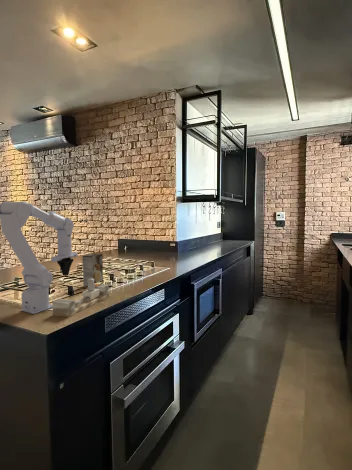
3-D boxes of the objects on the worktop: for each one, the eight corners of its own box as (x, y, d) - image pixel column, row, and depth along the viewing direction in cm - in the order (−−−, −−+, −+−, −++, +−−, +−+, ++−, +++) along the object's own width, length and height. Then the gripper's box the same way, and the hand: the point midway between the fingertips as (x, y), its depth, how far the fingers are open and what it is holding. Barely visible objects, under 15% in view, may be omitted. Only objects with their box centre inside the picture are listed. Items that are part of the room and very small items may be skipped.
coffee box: (93, 282, 161) (92, 253, 159) (103, 283, 159) (102, 253, 157) (82, 286, 152) (82, 255, 150) (93, 287, 150) (92, 256, 148)
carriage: (91, 299, 124) (91, 281, 124) (82, 298, 126) (82, 280, 125) (99, 295, 130) (99, 278, 129) (91, 294, 132) (90, 277, 131)
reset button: (97, 291, 133) (97, 285, 133) (93, 291, 134) (93, 285, 134) (100, 290, 135) (100, 284, 135) (96, 290, 136) (96, 283, 136)
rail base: (68, 317, 109) (67, 303, 108) (52, 315, 111) (52, 301, 110) (108, 296, 135) (108, 285, 135) (95, 294, 137) (95, 283, 137)
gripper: (60, 247, 122) (61, 279, 123) (82, 243, 136) (83, 272, 137) (46, 246, 124) (48, 278, 126) (69, 242, 138) (70, 271, 139)
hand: (65, 275), depth 131 cm, fingers closed
